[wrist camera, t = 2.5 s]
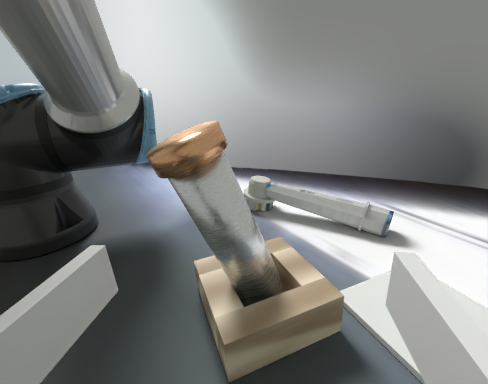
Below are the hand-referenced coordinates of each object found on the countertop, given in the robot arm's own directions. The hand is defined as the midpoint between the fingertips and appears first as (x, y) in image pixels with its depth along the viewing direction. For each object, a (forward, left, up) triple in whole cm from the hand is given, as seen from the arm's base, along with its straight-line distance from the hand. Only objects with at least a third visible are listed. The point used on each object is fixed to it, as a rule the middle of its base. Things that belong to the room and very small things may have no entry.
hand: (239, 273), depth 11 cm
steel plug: (-9, +6, -12) cm, 16 cm away
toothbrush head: (-23, +21, -13) cm, 34 cm away
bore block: (-9, +5, -12) cm, 16 cm away
